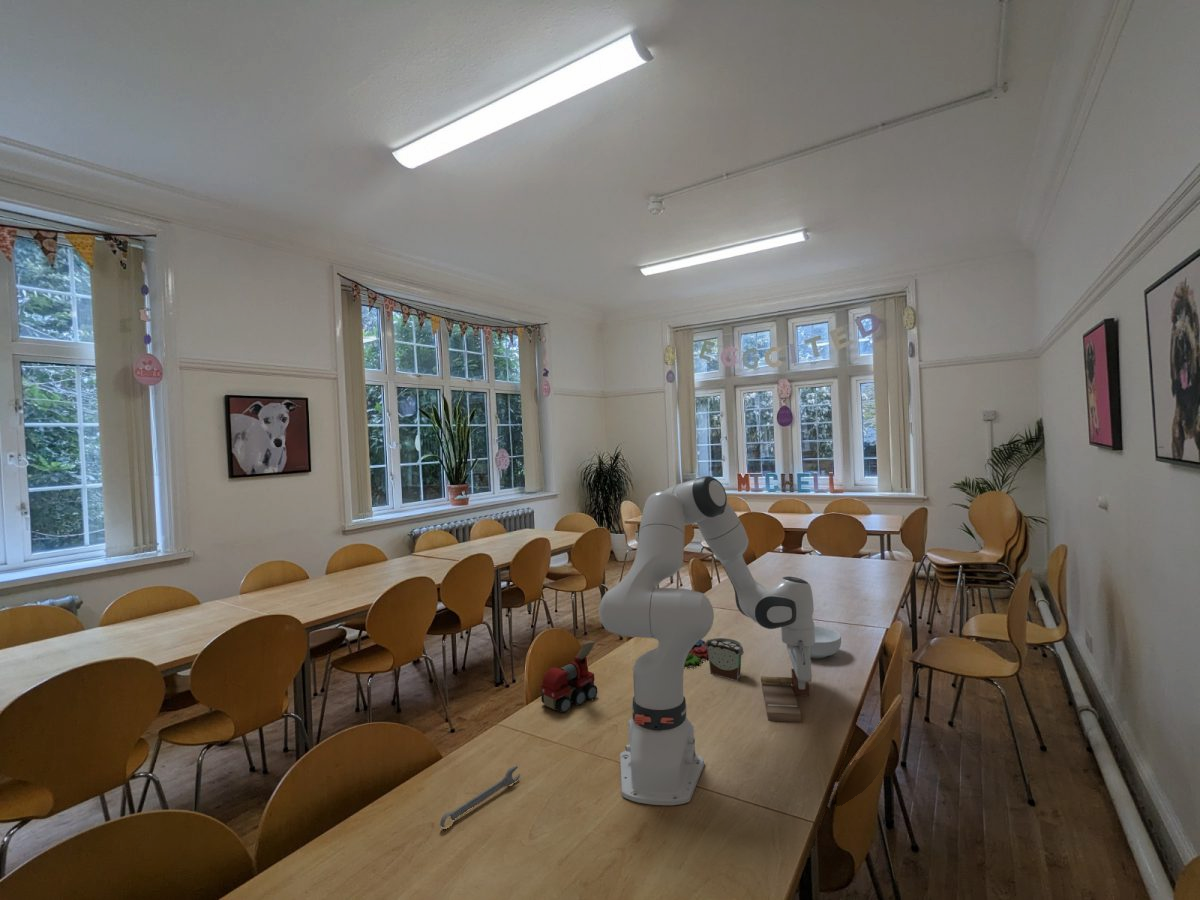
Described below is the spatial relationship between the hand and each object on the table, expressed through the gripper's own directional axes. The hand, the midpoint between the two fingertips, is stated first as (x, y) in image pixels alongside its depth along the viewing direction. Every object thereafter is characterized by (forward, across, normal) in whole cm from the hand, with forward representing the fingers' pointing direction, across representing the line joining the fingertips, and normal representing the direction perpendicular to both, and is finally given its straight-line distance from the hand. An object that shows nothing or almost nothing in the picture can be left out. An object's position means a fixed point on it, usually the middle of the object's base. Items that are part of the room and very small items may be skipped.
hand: (800, 684), depth 155 cm
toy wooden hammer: (+2, 0, +4) cm, 5 cm away
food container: (+3, +11, +19) cm, 22 cm away
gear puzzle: (+3, +23, +34) cm, 41 cm away
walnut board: (+2, -7, +6) cm, 10 cm away
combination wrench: (+3, -58, +70) cm, 91 cm away
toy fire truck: (+3, -13, +62) cm, 64 cm away
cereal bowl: (+3, +30, -9) cm, 31 cm away
